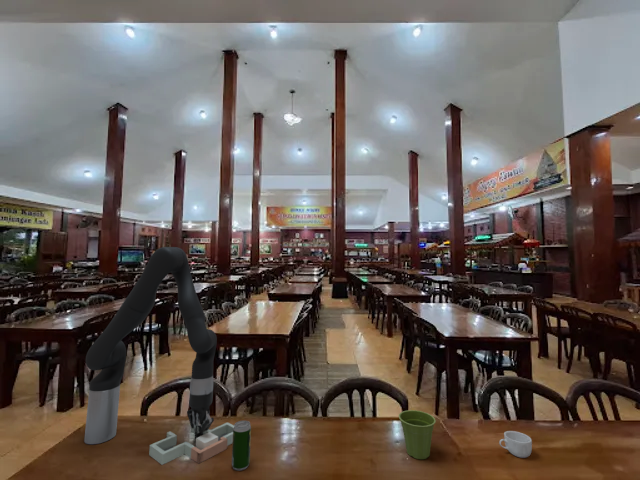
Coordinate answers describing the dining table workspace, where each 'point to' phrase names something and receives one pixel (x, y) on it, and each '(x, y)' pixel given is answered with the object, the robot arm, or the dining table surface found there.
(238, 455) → the beer can
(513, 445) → the teacup
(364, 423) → the dining table surface
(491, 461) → the dining table surface
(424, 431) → the plant pot
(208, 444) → the cream block
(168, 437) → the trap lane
